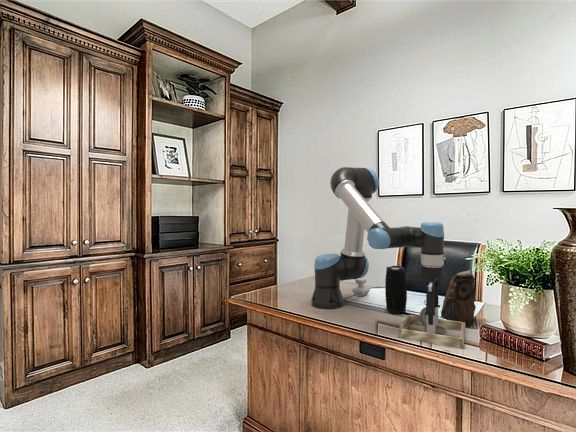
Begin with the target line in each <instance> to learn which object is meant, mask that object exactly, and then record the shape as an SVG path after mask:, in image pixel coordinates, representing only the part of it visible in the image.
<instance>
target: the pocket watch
mask: <svg viewBox="0 0 576 432" xmlns="http://www.w3.org/2000/svg"><path fill="white" fill-rule="evenodd" d="M423 304H424V305H425V307H423V308H422V309H421V311H420V313H419V315H418V316H419V319H420V322H421V323H422V324H423V325H422V326H424V330H425V332H427V321H425V319H427V318H426V317H427V315H425V314H424V312H425V313H426V300H424V302H423ZM424 318H425V319H424ZM445 332H446V329H445V328H443V327H441V326H436V325H435V334H443V333H445Z"/></svg>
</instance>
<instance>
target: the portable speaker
mask: <svg viewBox="0 0 576 432" xmlns="http://www.w3.org/2000/svg"><path fill="white" fill-rule="evenodd" d="M385 270H386V272H385V285H384V289H385V306H386V309H387V311H388V313H389V314H392V315H399V314H400V313H404V314H405V313H406V310H407V303H408V302H407V299H408V296H407V295H408V285H407V284H408V281H407V272H406V267H403V266H401V265H391V266H386V269H385Z"/></svg>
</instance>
